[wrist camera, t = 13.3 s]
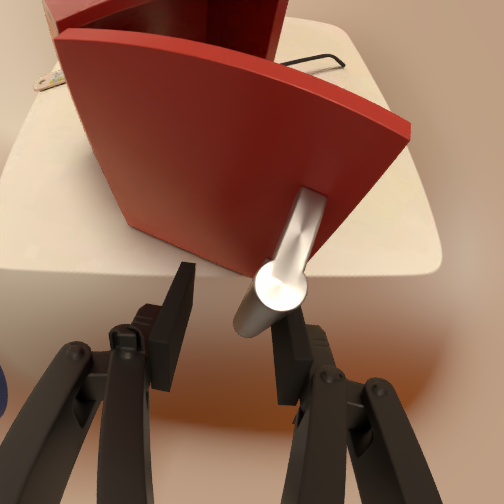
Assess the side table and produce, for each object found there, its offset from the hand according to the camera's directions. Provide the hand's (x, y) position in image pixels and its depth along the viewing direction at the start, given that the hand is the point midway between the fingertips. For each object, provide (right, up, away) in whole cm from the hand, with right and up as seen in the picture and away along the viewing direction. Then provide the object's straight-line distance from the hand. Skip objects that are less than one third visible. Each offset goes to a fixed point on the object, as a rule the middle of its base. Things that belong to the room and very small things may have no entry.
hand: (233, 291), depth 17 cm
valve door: (-3, 0, +3) cm, 5 cm away
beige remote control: (-20, +23, +10) cm, 32 cm away
